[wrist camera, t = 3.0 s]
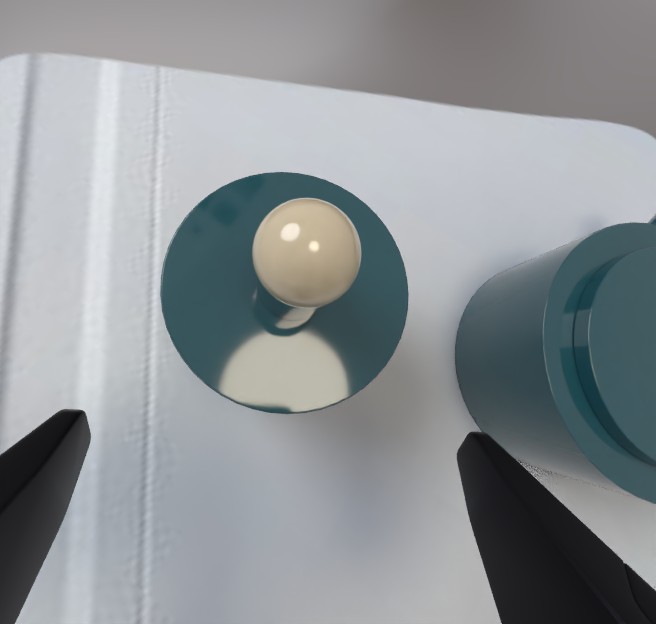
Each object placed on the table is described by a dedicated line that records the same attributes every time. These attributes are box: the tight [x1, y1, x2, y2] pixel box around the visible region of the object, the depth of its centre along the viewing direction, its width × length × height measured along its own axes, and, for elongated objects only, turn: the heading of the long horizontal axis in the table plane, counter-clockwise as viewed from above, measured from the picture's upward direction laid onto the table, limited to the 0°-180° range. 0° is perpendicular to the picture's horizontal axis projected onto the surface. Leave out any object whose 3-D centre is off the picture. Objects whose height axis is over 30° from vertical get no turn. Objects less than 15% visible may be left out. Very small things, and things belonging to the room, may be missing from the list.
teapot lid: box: [160, 172, 408, 414], centre depth 12 cm, size 9×9×6 cm
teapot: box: [455, 215, 656, 504], centre depth 21 cm, size 18×17×8 cm
